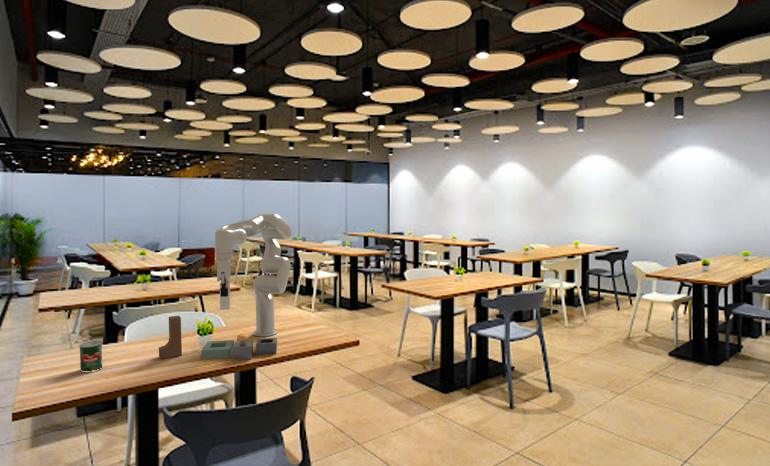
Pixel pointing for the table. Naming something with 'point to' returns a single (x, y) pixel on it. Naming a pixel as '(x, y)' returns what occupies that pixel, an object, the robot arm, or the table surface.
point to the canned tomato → (91, 356)
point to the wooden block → (172, 339)
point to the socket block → (266, 346)
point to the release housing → (243, 351)
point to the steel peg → (225, 299)
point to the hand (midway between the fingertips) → (224, 295)
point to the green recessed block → (217, 349)
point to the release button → (243, 338)
